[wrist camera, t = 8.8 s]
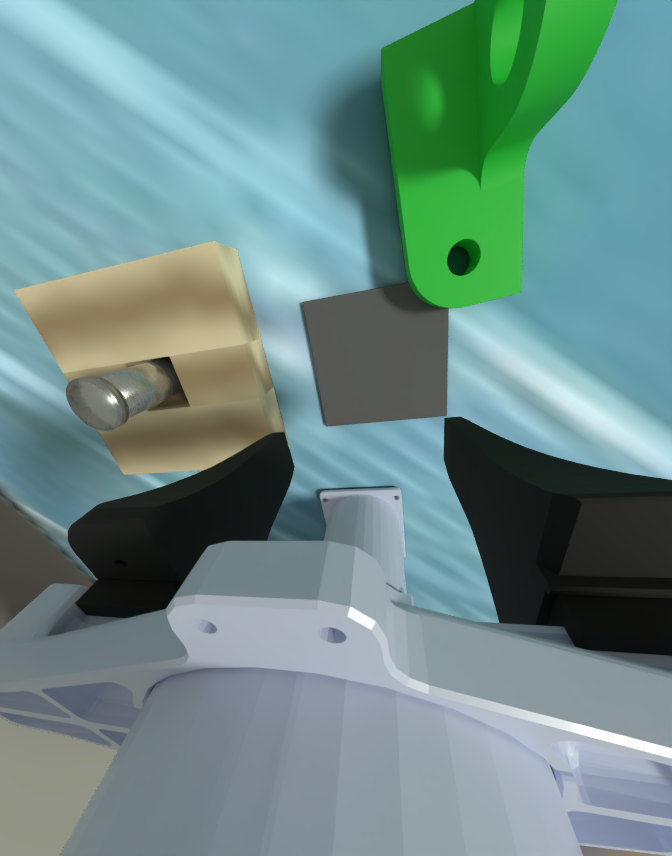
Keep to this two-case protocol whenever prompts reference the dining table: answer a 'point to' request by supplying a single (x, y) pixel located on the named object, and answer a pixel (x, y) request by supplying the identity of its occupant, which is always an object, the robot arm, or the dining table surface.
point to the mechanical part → (477, 133)
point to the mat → (379, 355)
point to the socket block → (167, 352)
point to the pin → (122, 393)
